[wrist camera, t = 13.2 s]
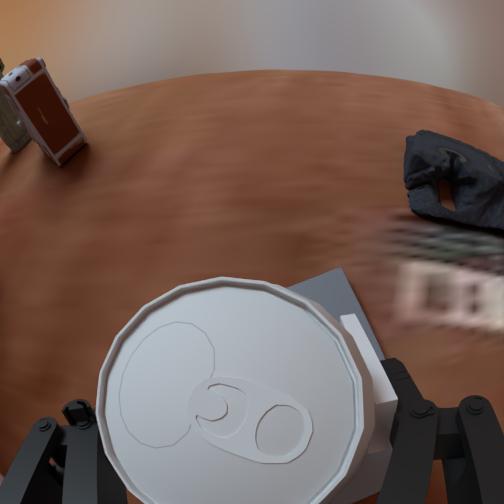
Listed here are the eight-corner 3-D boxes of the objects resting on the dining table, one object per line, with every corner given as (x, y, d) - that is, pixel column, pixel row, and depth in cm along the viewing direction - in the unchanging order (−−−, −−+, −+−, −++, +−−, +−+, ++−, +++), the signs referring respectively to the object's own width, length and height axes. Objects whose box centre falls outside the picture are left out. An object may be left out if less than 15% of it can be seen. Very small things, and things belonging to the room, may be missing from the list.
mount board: (201, 534, 15) (195, 540, 14) (145, 343, 25) (136, 338, 24) (420, 463, 16) (428, 465, 15) (338, 275, 26) (340, 265, 24)
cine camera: (64, 122, 54) (25, 55, 37) (95, 139, 45) (45, 48, 28) (34, 150, 51) (-10, 84, 34) (57, 175, 42) (-4, 87, 25)
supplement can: (200, 443, 19) (50, 455, 6) (240, 345, 22) (153, 230, 10) (307, 480, 16) (311, 587, 3) (345, 376, 20) (418, 297, 7)
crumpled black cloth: (551, 265, 21) (572, 243, 17) (396, 214, 28) (407, 182, 24) (531, 175, 28) (543, 153, 24) (402, 130, 35) (408, 102, 31)
